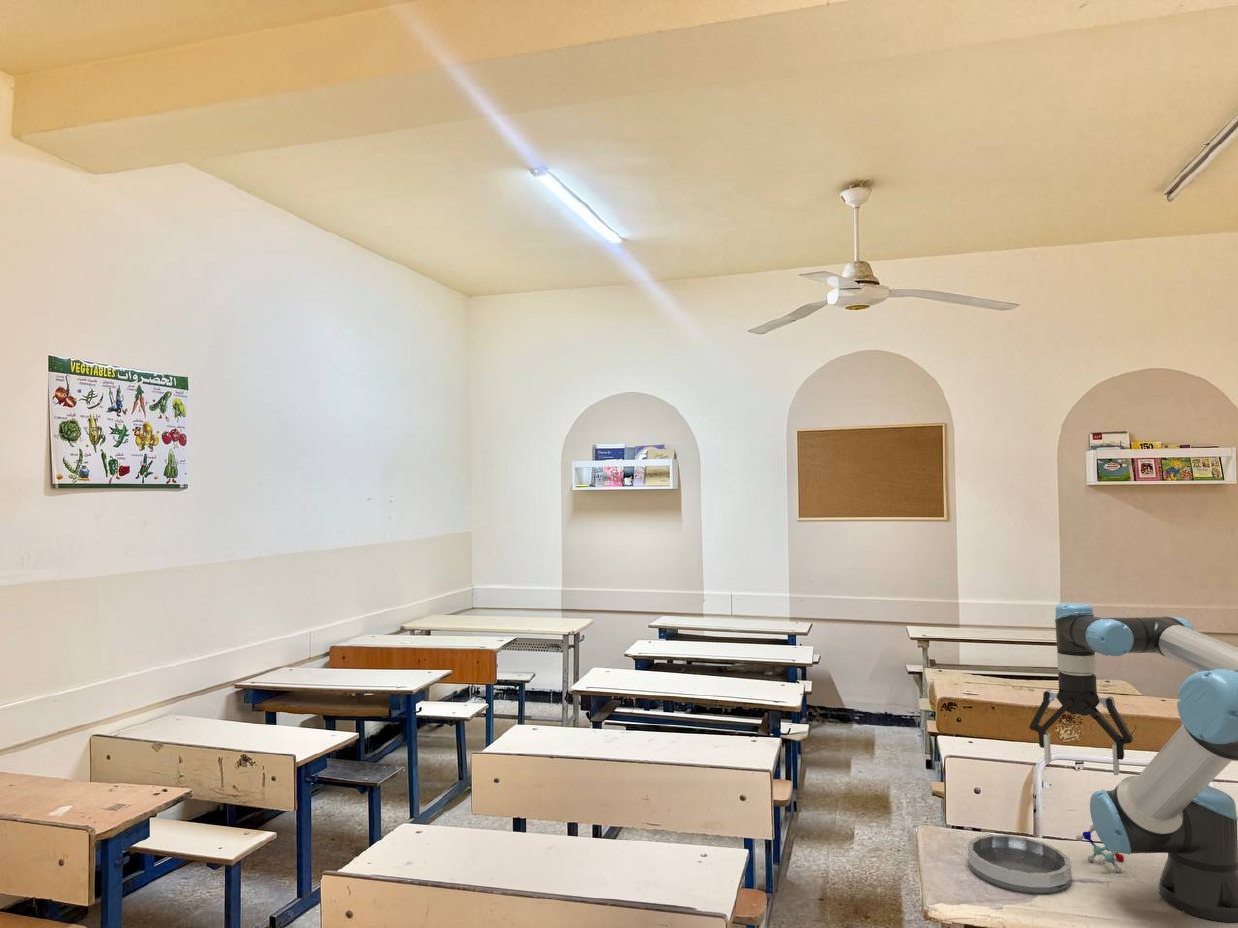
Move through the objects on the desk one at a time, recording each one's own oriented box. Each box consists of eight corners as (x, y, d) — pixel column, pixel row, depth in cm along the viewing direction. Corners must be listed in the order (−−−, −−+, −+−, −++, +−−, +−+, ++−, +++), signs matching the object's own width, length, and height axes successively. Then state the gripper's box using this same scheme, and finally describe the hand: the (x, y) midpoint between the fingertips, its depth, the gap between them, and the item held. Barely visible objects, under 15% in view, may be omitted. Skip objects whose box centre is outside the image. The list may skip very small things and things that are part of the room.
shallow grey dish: (1084, 872, 176) (1084, 854, 176) (1050, 904, 163) (1049, 884, 163) (991, 844, 191) (991, 827, 191) (952, 871, 178) (952, 852, 178)
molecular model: (1146, 863, 173) (1115, 816, 177) (1105, 882, 174) (1075, 835, 179) (1135, 857, 183) (1106, 813, 188) (1096, 875, 185) (1067, 831, 189)
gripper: (1143, 675, 179) (1149, 774, 177) (1021, 664, 194) (1025, 754, 193) (1139, 681, 173) (1145, 782, 171) (1013, 668, 189) (1017, 761, 187)
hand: (1081, 768), depth 182 cm, fingers open, 13 cm apart
